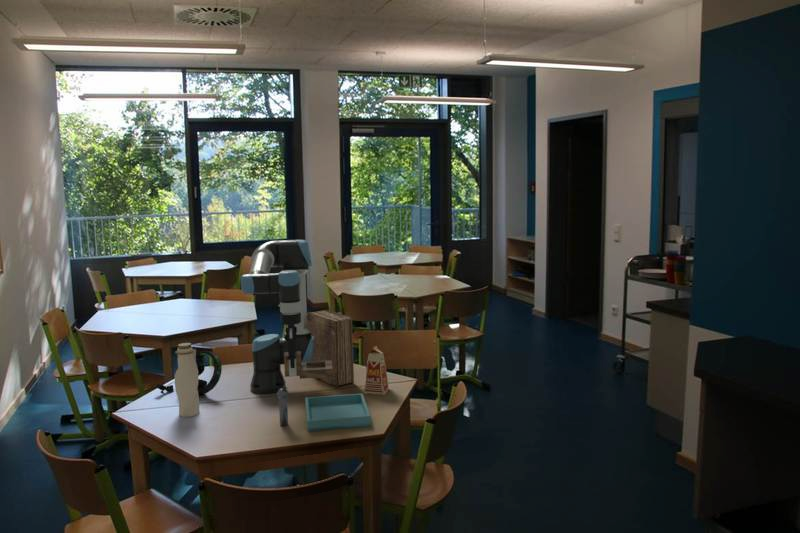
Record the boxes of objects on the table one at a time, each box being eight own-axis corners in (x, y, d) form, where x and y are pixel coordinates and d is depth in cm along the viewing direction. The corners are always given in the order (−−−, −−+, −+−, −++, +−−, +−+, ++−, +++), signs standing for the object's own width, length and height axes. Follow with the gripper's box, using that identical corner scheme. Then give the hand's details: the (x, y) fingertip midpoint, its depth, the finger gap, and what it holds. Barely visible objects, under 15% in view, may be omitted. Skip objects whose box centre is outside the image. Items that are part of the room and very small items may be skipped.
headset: (180, 410, 290) (229, 385, 280) (155, 406, 279) (205, 379, 269) (176, 372, 299) (223, 346, 289) (151, 367, 288) (200, 340, 278)
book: (354, 383, 295) (352, 317, 290) (336, 388, 289) (333, 320, 285) (326, 370, 315) (324, 308, 311) (309, 374, 310) (306, 311, 306)
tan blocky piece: (285, 370, 254) (284, 349, 253) (331, 367, 256) (330, 347, 255) (284, 379, 242) (283, 358, 241) (332, 376, 244) (331, 355, 243)
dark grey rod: (278, 423, 250) (276, 387, 248) (289, 422, 250) (287, 386, 248) (278, 426, 246) (276, 390, 244) (289, 426, 246) (287, 389, 244)
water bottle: (180, 408, 267) (176, 341, 263) (203, 407, 268) (199, 340, 264) (174, 418, 257) (169, 347, 253) (198, 416, 258) (193, 346, 254)
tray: (305, 407, 266) (305, 397, 266) (362, 402, 270) (362, 393, 269) (307, 431, 241) (307, 421, 240) (370, 426, 244) (370, 415, 244)
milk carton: (384, 394, 279) (383, 348, 277) (363, 393, 281) (361, 347, 278) (389, 387, 288) (388, 342, 285) (368, 386, 290) (367, 342, 287)
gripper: (281, 308, 253) (284, 367, 257) (279, 318, 236) (282, 381, 239) (301, 307, 254) (303, 366, 258) (300, 317, 237) (303, 380, 240)
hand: (293, 373), depth 248 cm, fingers closed on tan blocky piece, 5 cm apart
